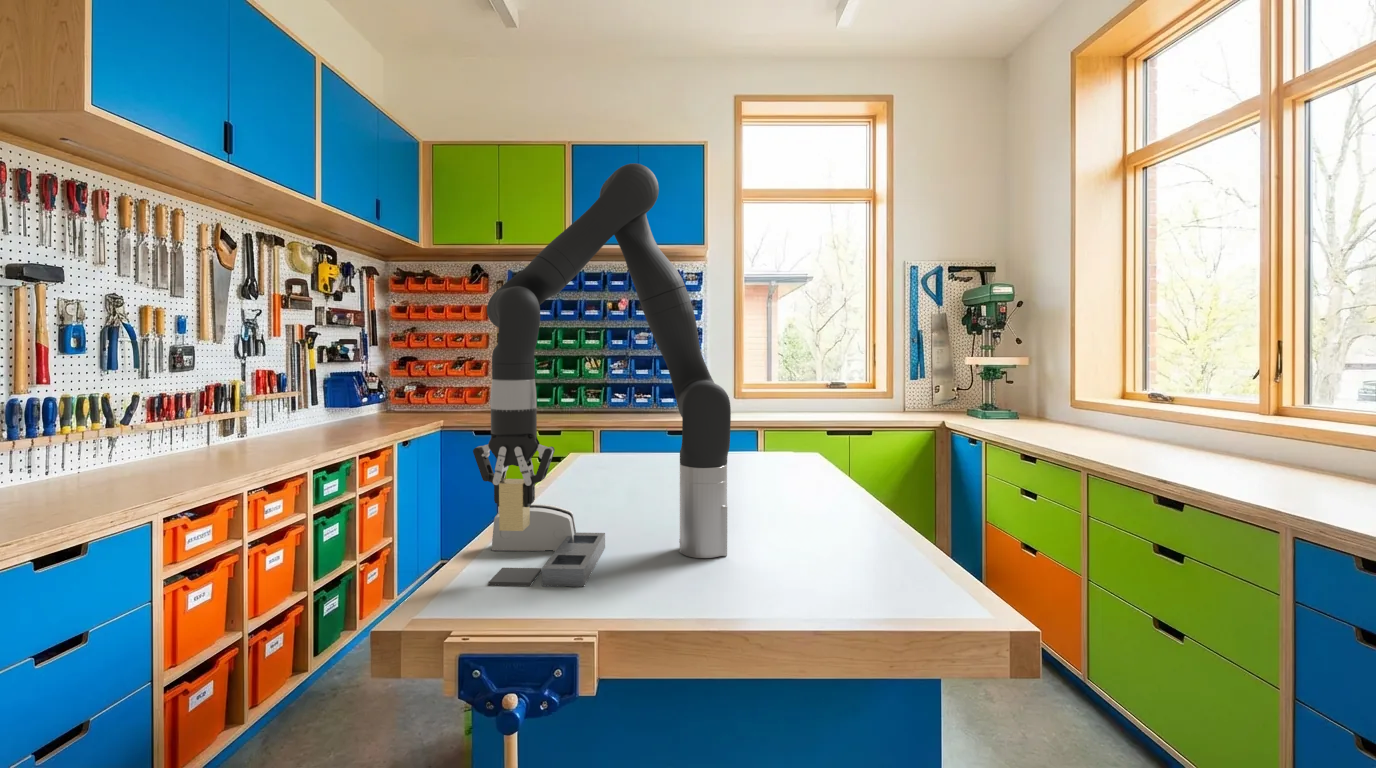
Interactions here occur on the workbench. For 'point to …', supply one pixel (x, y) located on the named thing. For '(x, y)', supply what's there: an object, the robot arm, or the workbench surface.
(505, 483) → the tan wooden beam
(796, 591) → the workbench surface
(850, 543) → the workbench surface
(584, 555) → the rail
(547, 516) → the white arched device
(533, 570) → the pad
